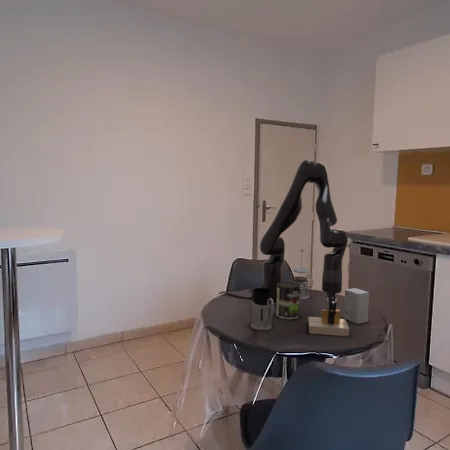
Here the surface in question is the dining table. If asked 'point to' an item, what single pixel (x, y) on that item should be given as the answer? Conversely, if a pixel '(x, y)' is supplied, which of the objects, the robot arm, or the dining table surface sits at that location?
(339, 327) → the base
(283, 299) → the coffee can
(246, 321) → the dining table surface
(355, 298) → the small box
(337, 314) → the tan rectangular block
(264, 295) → the glass holder
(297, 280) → the french press
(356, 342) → the dining table surface
